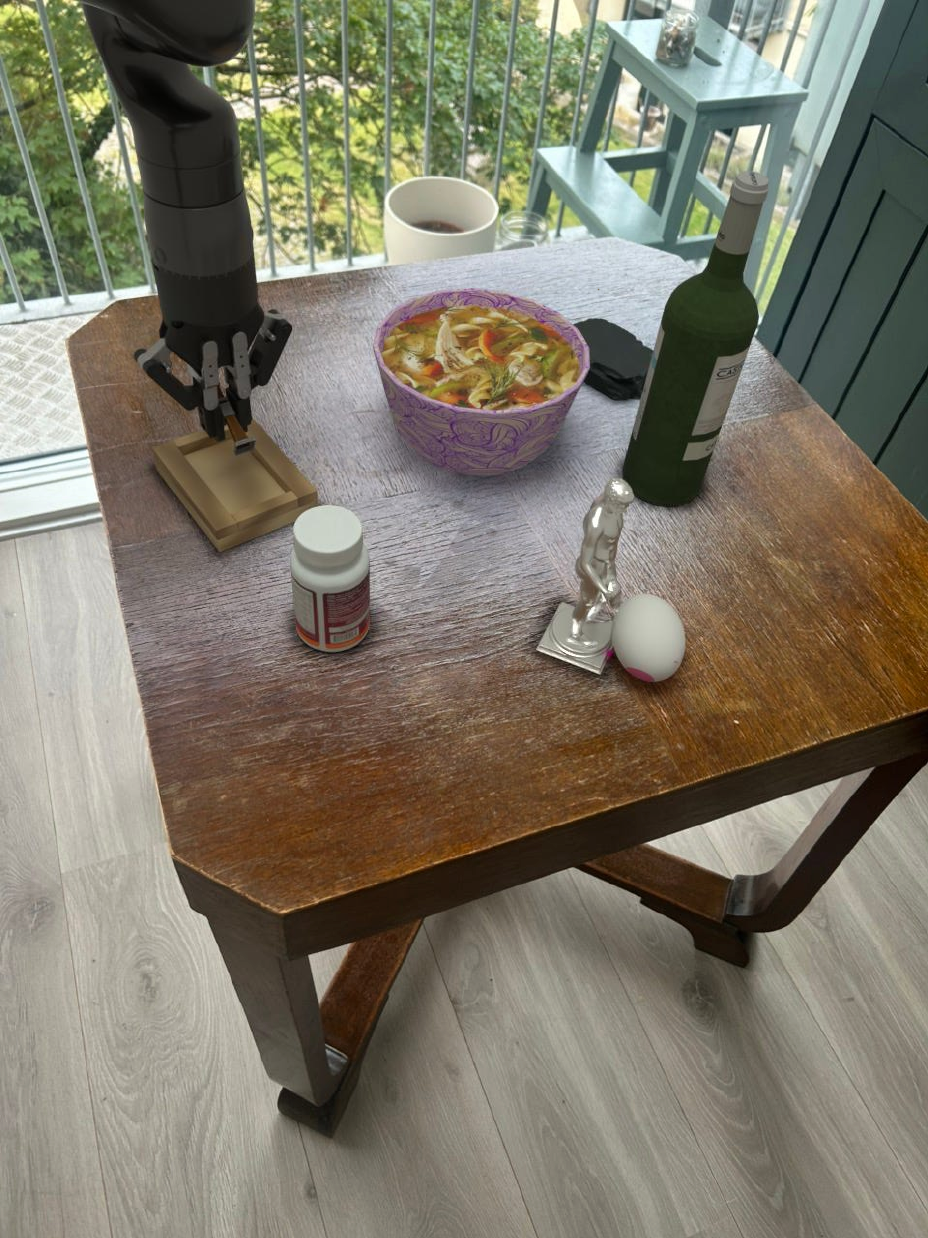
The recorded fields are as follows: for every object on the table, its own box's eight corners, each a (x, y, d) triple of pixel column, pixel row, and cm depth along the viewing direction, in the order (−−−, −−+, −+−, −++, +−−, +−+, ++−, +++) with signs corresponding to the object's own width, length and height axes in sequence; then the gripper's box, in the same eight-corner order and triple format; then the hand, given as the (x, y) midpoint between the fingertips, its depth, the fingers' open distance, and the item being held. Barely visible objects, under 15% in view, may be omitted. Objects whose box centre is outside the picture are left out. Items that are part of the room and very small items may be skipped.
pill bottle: (379, 608, 81) (380, 509, 72) (356, 662, 77) (355, 565, 68) (310, 591, 82) (303, 491, 73) (284, 645, 78) (273, 545, 69)
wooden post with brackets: (212, 388, 86) (215, 360, 82) (251, 463, 85) (256, 438, 81) (193, 394, 85) (195, 366, 81) (232, 469, 84) (236, 444, 80)
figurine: (589, 699, 76) (637, 539, 63) (516, 660, 78) (547, 496, 65) (634, 634, 81) (687, 472, 68) (563, 599, 83) (602, 434, 70)
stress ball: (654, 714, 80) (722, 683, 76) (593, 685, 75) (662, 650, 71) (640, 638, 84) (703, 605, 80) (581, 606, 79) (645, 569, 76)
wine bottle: (697, 514, 92) (806, 211, 69) (616, 498, 92) (697, 191, 70) (702, 463, 97) (804, 165, 74) (625, 448, 98) (703, 147, 75)
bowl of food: (518, 372, 105) (532, 274, 96) (606, 487, 93) (630, 388, 85) (345, 406, 99) (342, 305, 90) (416, 534, 87) (421, 432, 78)
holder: (219, 552, 84) (215, 530, 82) (156, 469, 90) (151, 446, 88) (318, 512, 88) (317, 490, 86) (251, 435, 94) (249, 413, 92)
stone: (620, 409, 102) (625, 387, 100) (542, 356, 107) (546, 333, 105) (670, 383, 106) (676, 360, 103) (593, 332, 111) (597, 310, 109)
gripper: (260, 203, 76) (276, 386, 89) (92, 244, 70) (135, 434, 83) (308, 246, 72) (317, 430, 85) (135, 293, 66) (173, 483, 79)
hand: (227, 431), depth 84 cm, fingers closed on wooden post with brackets, 1 cm apart
